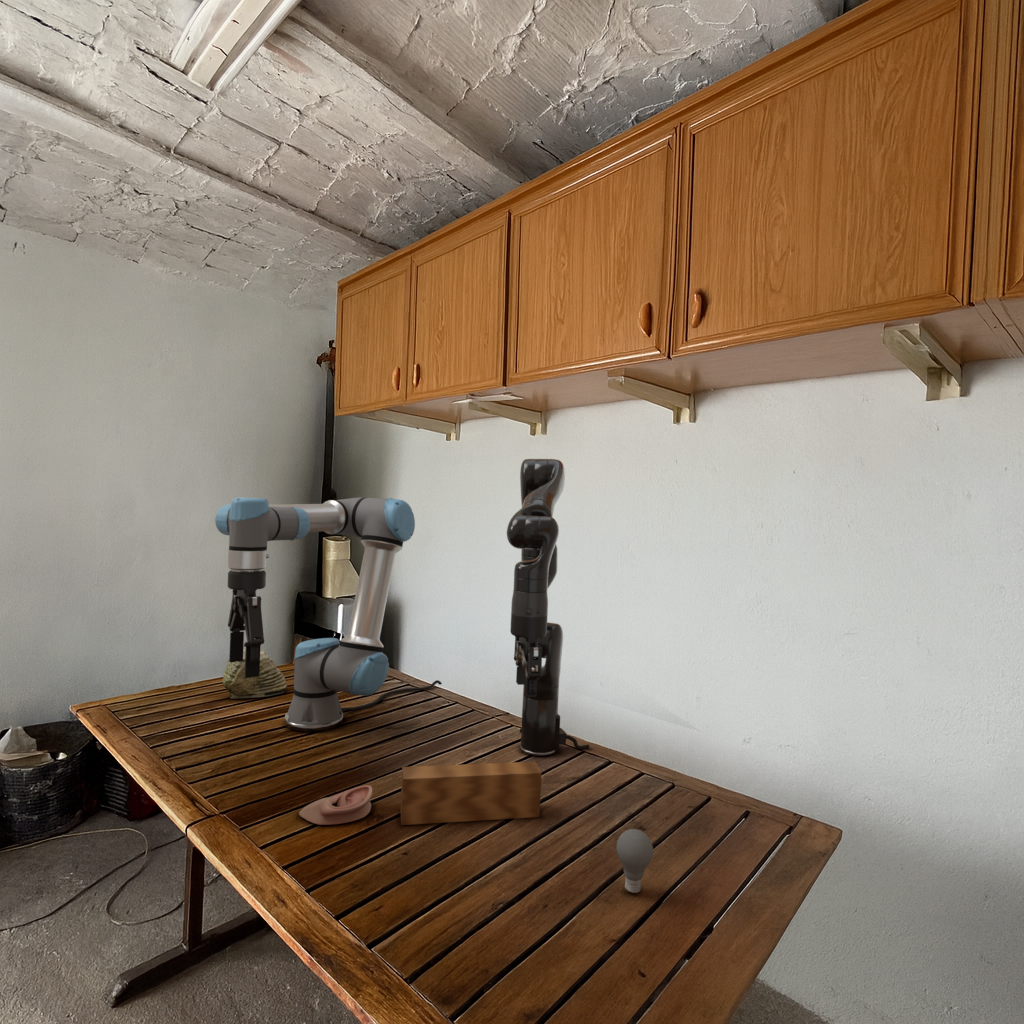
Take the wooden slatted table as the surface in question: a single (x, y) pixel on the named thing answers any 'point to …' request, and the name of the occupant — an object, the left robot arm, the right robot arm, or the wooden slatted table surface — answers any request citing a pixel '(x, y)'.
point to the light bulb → (634, 857)
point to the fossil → (254, 679)
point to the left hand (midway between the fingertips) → (243, 668)
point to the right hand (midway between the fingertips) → (525, 690)
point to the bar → (470, 792)
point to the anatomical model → (339, 807)
